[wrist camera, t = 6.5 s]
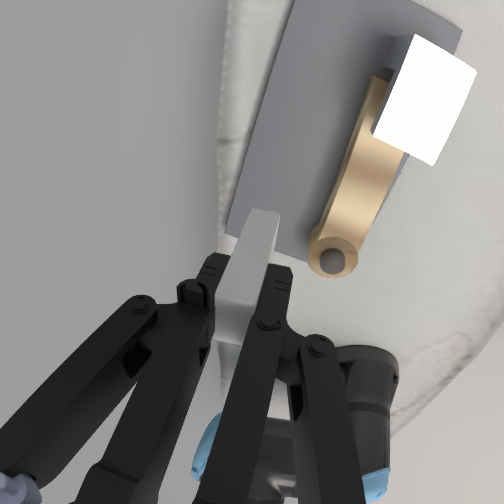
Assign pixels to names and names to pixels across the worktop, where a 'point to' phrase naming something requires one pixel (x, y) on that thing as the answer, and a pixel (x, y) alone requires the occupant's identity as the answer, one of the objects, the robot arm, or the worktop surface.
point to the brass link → (354, 192)
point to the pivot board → (321, 107)
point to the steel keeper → (421, 96)
